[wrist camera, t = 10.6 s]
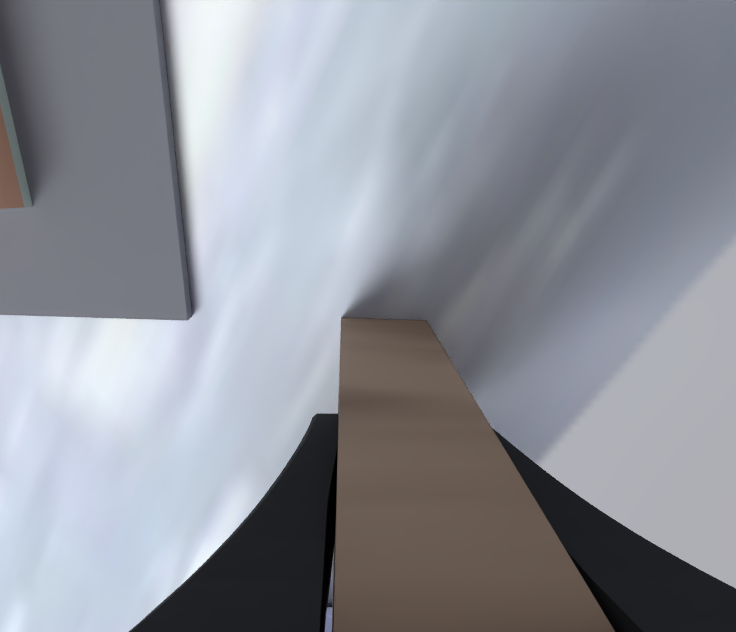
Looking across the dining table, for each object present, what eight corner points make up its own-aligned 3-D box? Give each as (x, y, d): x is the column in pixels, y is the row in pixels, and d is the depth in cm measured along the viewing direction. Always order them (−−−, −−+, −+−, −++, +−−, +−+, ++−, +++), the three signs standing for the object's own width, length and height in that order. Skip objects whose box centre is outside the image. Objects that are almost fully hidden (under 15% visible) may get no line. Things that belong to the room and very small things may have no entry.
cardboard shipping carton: (413, 439, 15) (534, 884, 5) (337, 438, 15) (323, 900, 5) (426, 320, 13) (632, 660, 4) (341, 318, 13) (333, 672, 4)
